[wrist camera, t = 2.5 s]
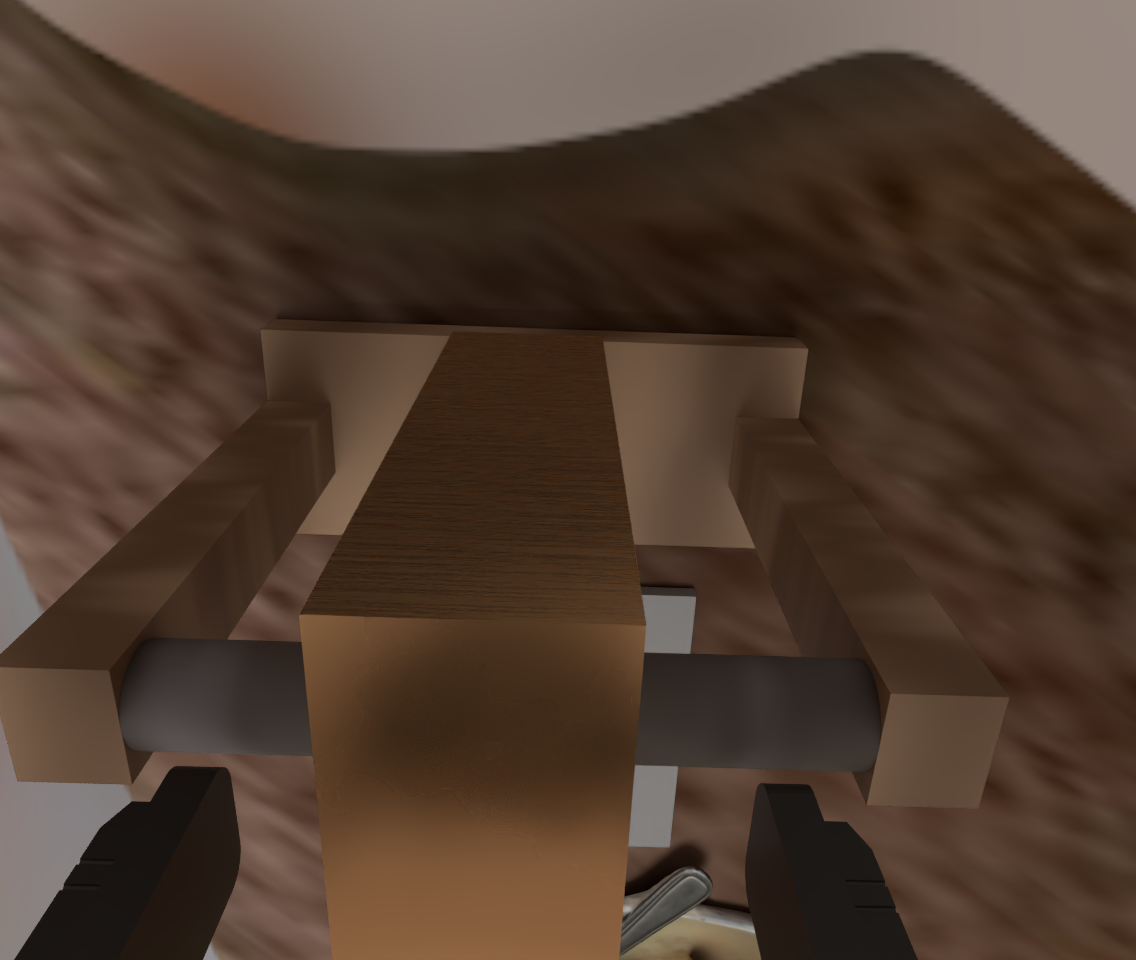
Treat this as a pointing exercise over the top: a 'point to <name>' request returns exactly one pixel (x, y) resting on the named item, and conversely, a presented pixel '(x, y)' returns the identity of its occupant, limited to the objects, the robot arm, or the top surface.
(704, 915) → the salad plate
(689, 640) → the mat
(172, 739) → the stand
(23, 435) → the top surface
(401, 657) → the link
